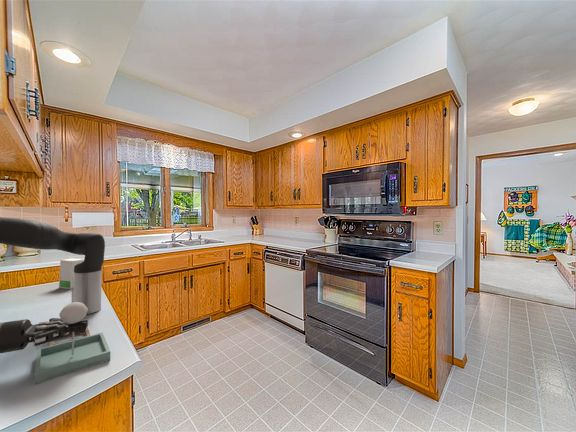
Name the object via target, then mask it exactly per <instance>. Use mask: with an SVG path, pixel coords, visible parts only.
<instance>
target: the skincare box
mask: <svg viewBox="0 0 576 432" xmlns="http://www.w3.org/2000/svg"><path fill="white" fill-rule="evenodd" d="M59 261H60V263H59V278H58V279H59V282H58V288H59V289H64V290H65V289H66V290H73V289H74V266H75V265H77V264H80V263H82V262H83V261H84V259H83V258H73V257H71V258H65V259H60V260H59Z"/></svg>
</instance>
